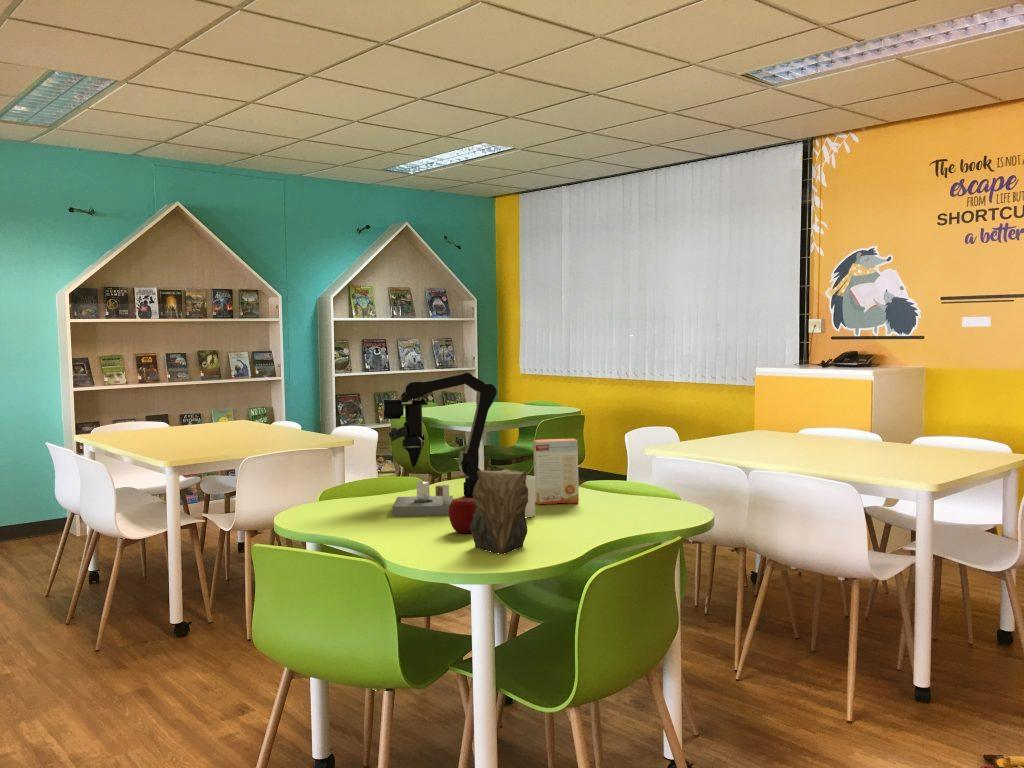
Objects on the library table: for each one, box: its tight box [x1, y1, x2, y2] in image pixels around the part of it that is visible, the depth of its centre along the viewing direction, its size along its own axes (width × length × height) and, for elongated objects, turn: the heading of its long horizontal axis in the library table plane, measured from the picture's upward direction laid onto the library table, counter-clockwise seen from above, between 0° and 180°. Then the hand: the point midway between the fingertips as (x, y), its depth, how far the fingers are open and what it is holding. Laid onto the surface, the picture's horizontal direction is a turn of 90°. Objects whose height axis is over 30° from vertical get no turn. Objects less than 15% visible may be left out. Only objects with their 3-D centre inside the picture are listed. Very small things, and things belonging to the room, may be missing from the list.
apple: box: [448, 496, 477, 534], centre depth 237 cm, size 10×10×10 cm
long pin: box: [416, 480, 430, 503], centre depth 267 cm, size 4×4×9 cm
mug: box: [525, 474, 536, 518], centre depth 256 cm, size 10×7×12 cm, turn 109°
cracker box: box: [533, 437, 580, 506], centre depth 276 cm, size 14×6×21 cm, turn 97°
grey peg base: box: [391, 484, 454, 517], centre depth 267 cm, size 18×16×9 cm
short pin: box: [434, 484, 444, 496], centre depth 282 cm, size 4×4×5 cm
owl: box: [470, 468, 528, 555], centre depth 220 cm, size 13×13×20 cm
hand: (414, 464), depth 284 cm, fingers open, 9 cm apart
